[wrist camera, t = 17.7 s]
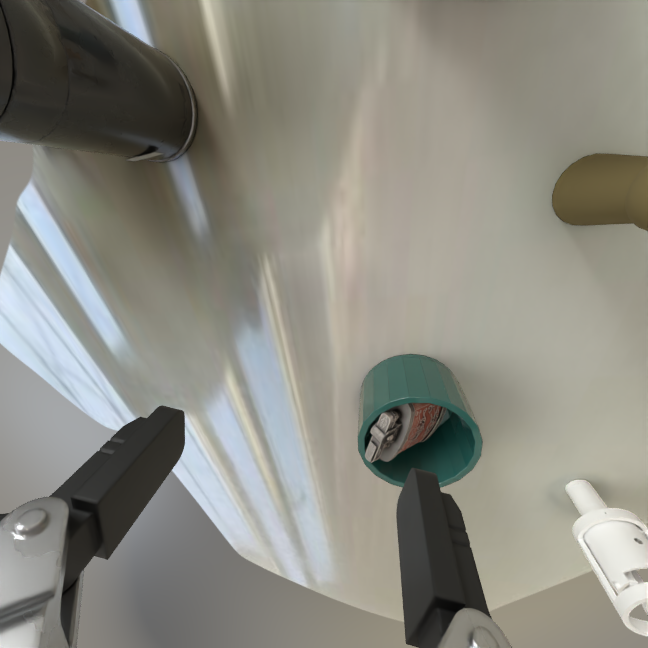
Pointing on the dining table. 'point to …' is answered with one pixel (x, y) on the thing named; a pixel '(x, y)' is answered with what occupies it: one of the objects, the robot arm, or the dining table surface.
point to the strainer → (613, 550)
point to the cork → (604, 191)
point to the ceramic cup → (420, 387)
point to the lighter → (403, 429)
